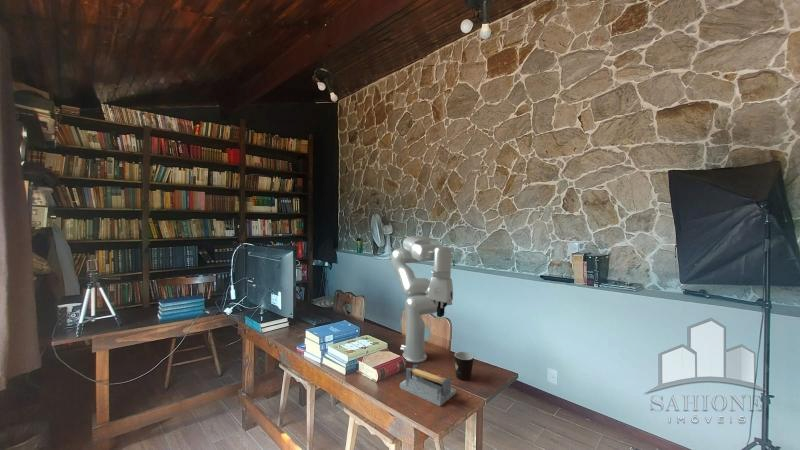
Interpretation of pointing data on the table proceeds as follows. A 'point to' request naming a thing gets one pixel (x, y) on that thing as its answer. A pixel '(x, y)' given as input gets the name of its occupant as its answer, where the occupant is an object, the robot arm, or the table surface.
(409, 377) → the grey slotted holder
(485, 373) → the table surface
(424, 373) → the tan rectangular bar
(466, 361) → the coffee mug
